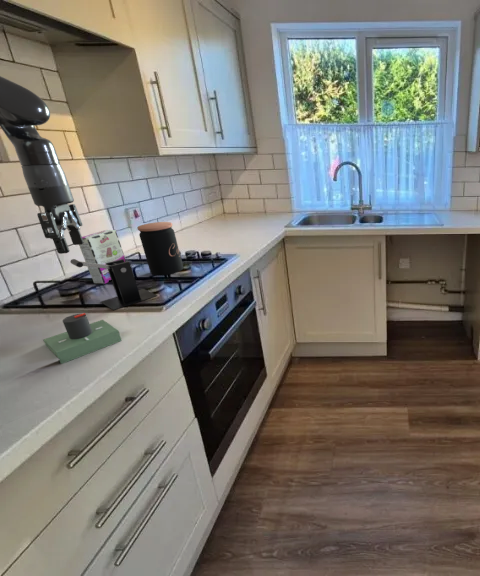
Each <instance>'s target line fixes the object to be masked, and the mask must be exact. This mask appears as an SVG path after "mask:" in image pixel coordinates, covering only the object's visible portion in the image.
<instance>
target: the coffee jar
mask: <svg viewBox="0 0 480 576" xmlns="http://www.w3.org/2000/svg"><path fill="white" fill-rule="evenodd" d="M136 229H137V230H138V231H139V234H138V236H139V240H140V243H141V246H142V250H143V252H144V256H145V258H146V263H147V267H148V269H149V273H150V275H152V276H156V277H157V276H160V277H162V276H169V275H173V274H176V273H179V272H182V271H183V269H184V263H183V260H182V257H181V252H180V248H179V244H178V241H177V237H176V233H175V229H173V223H172V222H171V221H157V222H149V223H144V224H140V225H139V226H138V225H137V228H136Z"/></svg>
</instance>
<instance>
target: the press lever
mask: <svg viewBox="0 0 480 576" xmlns="http://www.w3.org/2000/svg"><path fill="white" fill-rule="evenodd" d="M69 261H70V264H71V265H73V266H76V267H77V268H83V267H87V266H88V267H96V268H105V269H112V267H111V265H104V264H96V263H88V262H85V261H79V260H77V259H76V258H72V259H70V260H69ZM115 264H118V263H113V265H115ZM88 267H87V268H88ZM112 271H113V270H112Z"/></svg>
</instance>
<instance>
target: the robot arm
mask: <svg viewBox="0 0 480 576" xmlns="http://www.w3.org/2000/svg"><path fill="white" fill-rule="evenodd" d="M50 118H51V111H50V109H49V106H48V105H47V103H46V102H45V100H43V99H42V98H41V97H40V96H39V95H37V94H36V93H35V92H33V91H32V90H30V89H29V88H26V87H25V86H23V85H21V84H18V83H16V82H15V81H12V80H9V79H7V78H6V77H4V76H1V75H0V128H1V130H2V131H3V133H4V135H5V136H6V138H7V139H8V140H9V141H10V143H11V144H12V146H13V148H14V150H15V153H16V156H17V159H18V161H19V164H20V167H21V170H22V174H23V175H22V176H23V179H24V180H25V184H26V185H27V188H28V191H29V193H30V195H31V199H32V201H33V204H34V205H35V206H37V207H43V210H44V212H38V213H37V215H36V216H37V219H38V221H39V224H40V227H41V229H42V233H43V235H44V238H45V239H50V240H52V241H53V245H54V247H55V250H56V252H57V254H60V255H62V254H68V253H70V248H69V245H68V243H67V240H66V238H65V231H66V230H67V231H68V234H69V237H70V240H71V242H72V245H74V246H79V245H81V244H83V243H84V242H83V239H82V237H83V236H82V233H81V227H83V222H82V219H81V217H80V214H79V211H78V208H77V205H76V204H75V203H74V202H75V199H74V196H73V193H72V191H71V187H70V185H69V182H68V181H69V180H68V179H67V176H66V173H65V171H64V169H63V167H62V165H61V162H60V159H59V157H58V153H57V150H56V148H55V146H54V144H53V143H52V141H51V140H50V139H48V138H46V137H42V136H41V135H40V133H39V132H38V130H37V128H36V127H35V126H42V125H45V124H46V123H47V122H49V120H50Z"/></svg>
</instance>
